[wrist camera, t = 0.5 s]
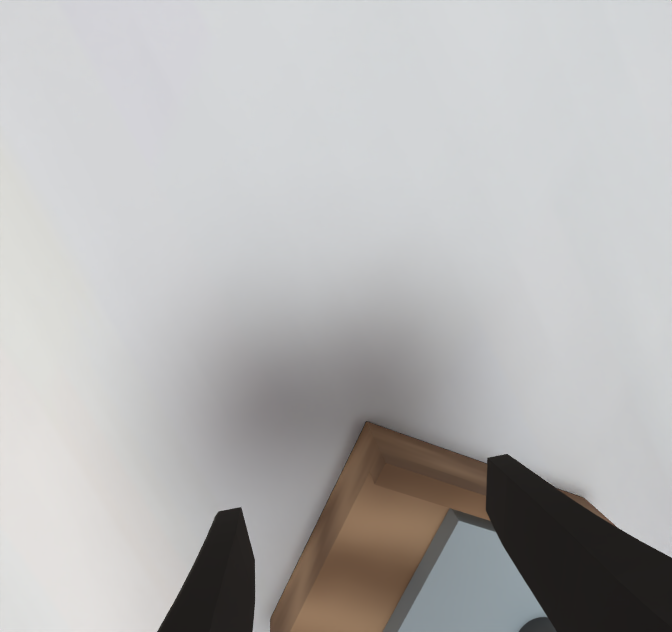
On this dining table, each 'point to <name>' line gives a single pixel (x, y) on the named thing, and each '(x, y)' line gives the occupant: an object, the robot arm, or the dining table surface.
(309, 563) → the walnut case
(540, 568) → the robot arm
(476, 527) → the cover plate
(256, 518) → the dining table surface
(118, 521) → the dining table surface
